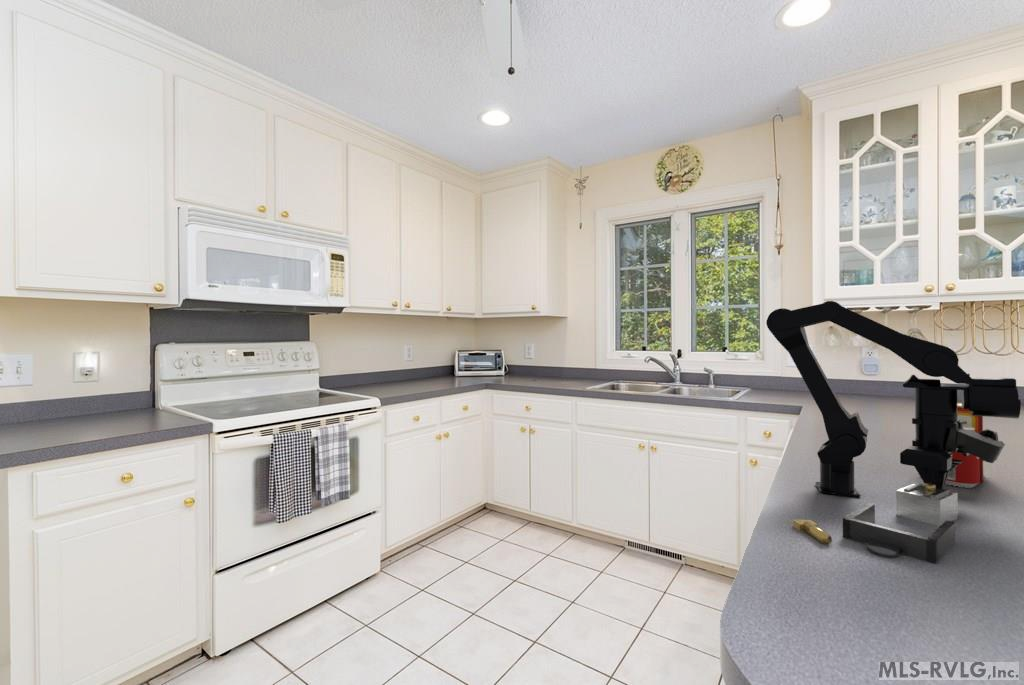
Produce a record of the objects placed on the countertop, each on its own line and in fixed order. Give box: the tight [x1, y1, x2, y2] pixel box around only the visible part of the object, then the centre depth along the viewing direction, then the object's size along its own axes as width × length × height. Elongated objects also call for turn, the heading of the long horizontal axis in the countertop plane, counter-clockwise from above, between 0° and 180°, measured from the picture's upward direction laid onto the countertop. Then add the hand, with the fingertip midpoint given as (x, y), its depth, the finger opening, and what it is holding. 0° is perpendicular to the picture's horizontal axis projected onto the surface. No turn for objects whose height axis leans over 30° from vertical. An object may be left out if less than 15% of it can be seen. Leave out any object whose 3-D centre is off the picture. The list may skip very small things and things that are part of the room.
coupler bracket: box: [842, 502, 956, 564], centre depth 71 cm, size 14×11×3 cm
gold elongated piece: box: [792, 519, 833, 546], centre depth 74 cm, size 7×3×2 cm, turn 176°
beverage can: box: [945, 426, 981, 489], centre depth 98 cm, size 6×6×12 cm
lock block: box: [895, 483, 959, 527], centre depth 81 cm, size 7×6×6 cm
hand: (936, 498), depth 85 cm, fingers closed
